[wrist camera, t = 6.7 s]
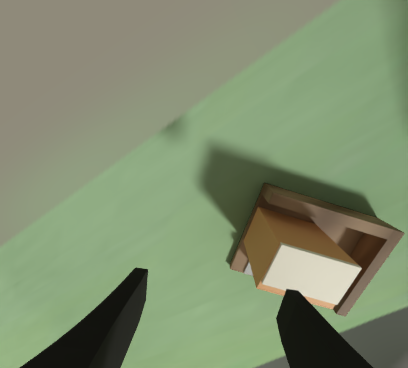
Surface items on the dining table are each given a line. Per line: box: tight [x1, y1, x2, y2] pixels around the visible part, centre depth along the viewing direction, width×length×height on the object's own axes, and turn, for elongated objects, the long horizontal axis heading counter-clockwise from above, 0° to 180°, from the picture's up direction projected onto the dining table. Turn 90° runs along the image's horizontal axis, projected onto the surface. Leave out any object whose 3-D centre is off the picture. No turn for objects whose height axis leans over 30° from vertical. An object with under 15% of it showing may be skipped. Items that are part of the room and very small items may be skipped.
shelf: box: [230, 183, 405, 316], centre depth 19 cm, size 12×10×3 cm
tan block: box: [244, 207, 362, 309], centre depth 17 cm, size 6×4×6 cm
